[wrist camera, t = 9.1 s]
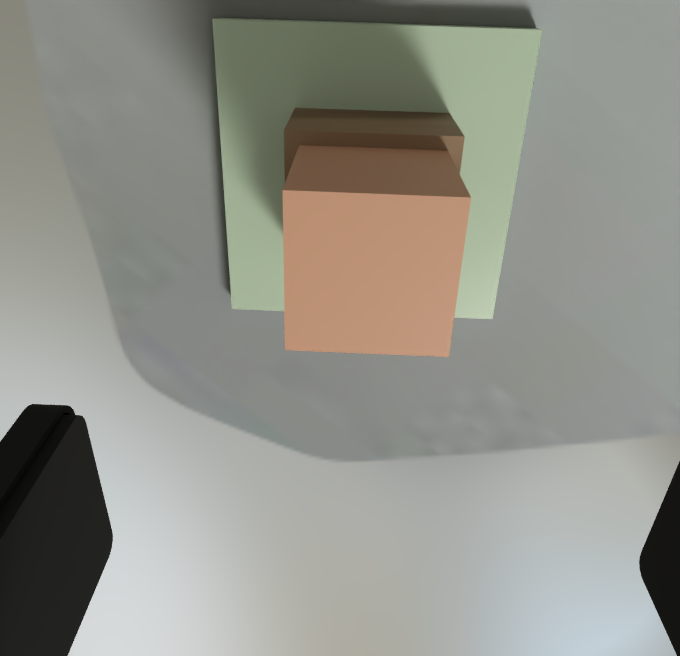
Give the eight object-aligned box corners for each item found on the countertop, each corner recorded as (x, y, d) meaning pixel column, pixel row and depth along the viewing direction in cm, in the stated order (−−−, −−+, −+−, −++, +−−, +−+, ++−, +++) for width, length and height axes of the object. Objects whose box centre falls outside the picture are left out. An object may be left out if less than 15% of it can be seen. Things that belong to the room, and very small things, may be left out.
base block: (294, 107, 24) (283, 130, 20) (449, 112, 24) (464, 136, 20) (296, 251, 27) (286, 292, 23) (433, 256, 27) (444, 298, 23)
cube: (299, 144, 21) (282, 190, 16) (448, 150, 21) (471, 197, 16) (299, 279, 23) (285, 349, 19) (432, 285, 23) (448, 356, 19)
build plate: (216, 17, 23) (212, 19, 22) (536, 28, 23) (542, 29, 22) (235, 300, 29) (232, 308, 28) (489, 310, 29) (492, 319, 28)
